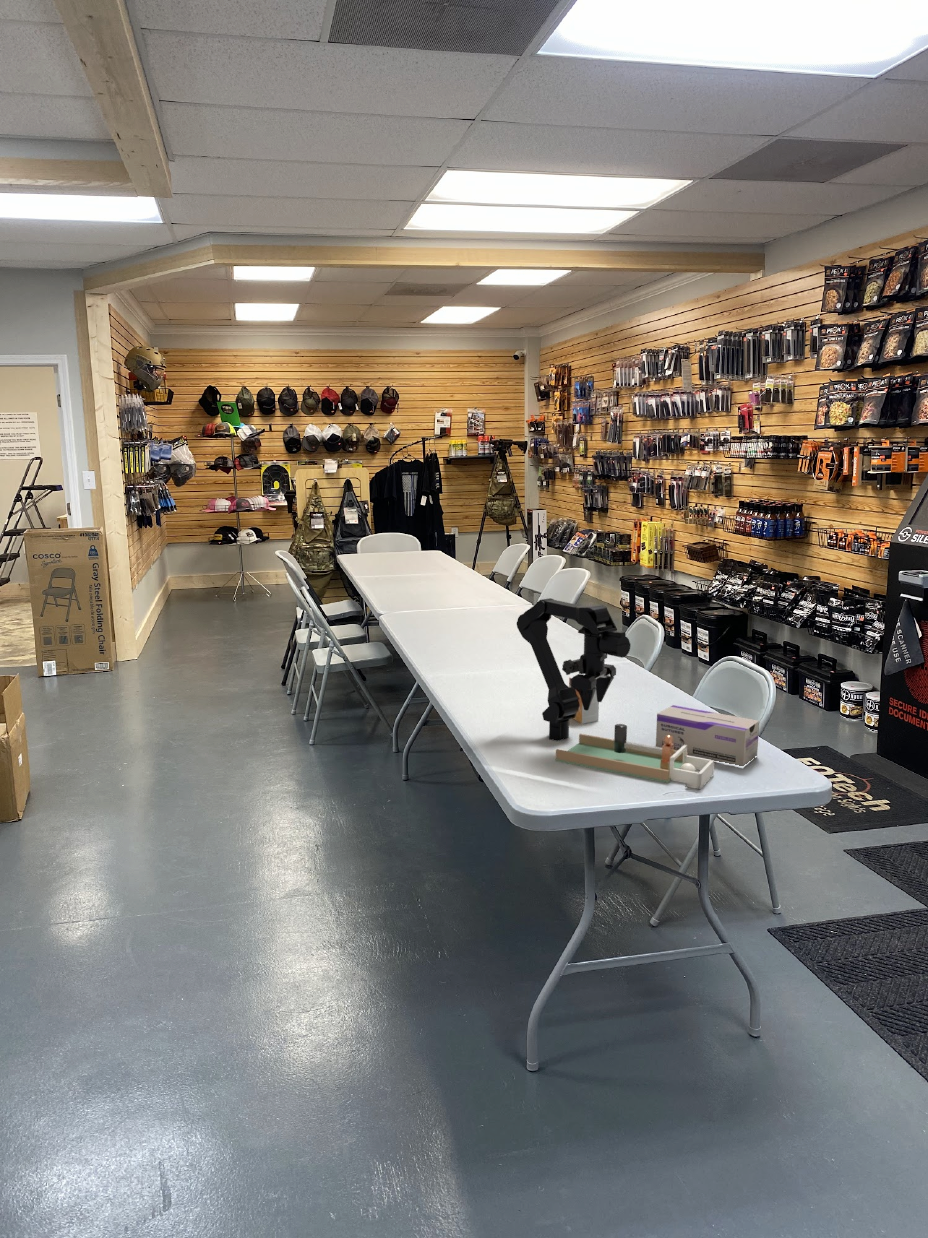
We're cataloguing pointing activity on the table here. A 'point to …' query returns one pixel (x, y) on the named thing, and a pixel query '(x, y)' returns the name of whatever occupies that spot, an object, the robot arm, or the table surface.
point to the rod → (643, 746)
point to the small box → (590, 714)
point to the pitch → (616, 759)
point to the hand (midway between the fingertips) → (592, 706)
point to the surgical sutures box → (709, 734)
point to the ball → (688, 767)
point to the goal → (689, 776)
